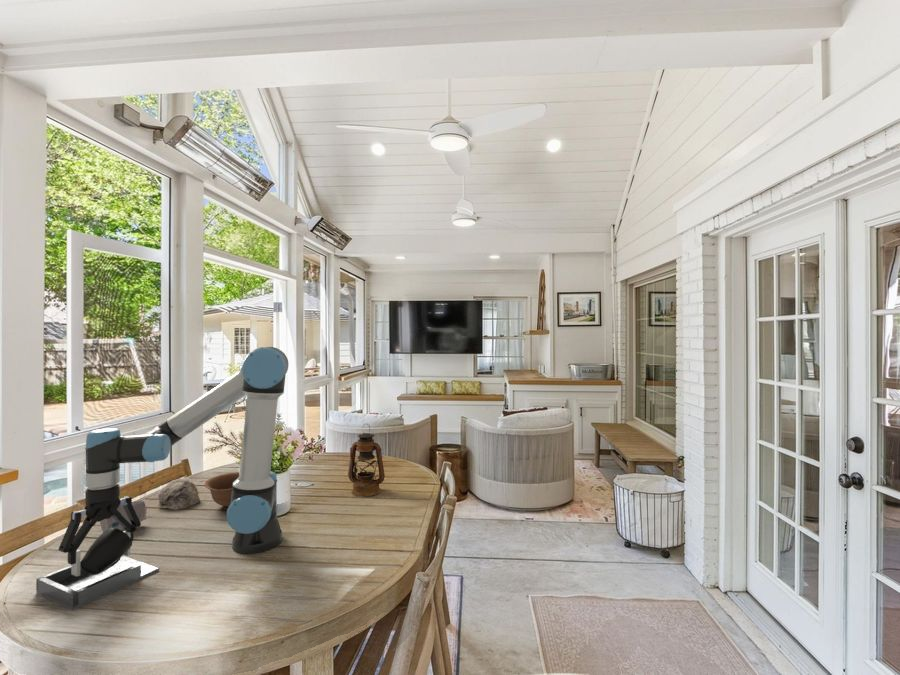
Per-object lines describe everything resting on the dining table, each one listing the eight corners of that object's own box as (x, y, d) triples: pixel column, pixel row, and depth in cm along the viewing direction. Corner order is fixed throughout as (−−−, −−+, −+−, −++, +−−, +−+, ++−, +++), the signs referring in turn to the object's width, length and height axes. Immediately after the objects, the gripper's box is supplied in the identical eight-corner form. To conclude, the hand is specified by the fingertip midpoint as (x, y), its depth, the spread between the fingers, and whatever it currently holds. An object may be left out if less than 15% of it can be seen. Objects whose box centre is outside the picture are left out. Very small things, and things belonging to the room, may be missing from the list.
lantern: (389, 488, 201) (389, 421, 201) (379, 498, 189) (379, 426, 189) (353, 485, 204) (353, 420, 204) (341, 495, 192) (341, 425, 192)
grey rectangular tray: (159, 571, 129) (159, 556, 129) (72, 611, 110) (72, 594, 110) (123, 559, 136) (123, 545, 136) (36, 594, 117) (36, 578, 117)
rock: (202, 498, 189) (202, 474, 189) (197, 508, 178) (197, 483, 178) (161, 502, 184) (161, 478, 184) (153, 513, 173) (153, 487, 173)
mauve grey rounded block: (101, 538, 152) (103, 537, 149) (97, 510, 154) (99, 508, 150) (147, 524, 162) (150, 522, 158) (143, 497, 164) (146, 495, 160)
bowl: (224, 521, 165) (224, 491, 165) (192, 509, 176) (192, 481, 176) (276, 502, 183) (276, 476, 183) (243, 492, 195) (243, 467, 195)
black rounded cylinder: (108, 590, 122) (135, 559, 130) (101, 562, 116) (130, 532, 125) (80, 581, 122) (109, 551, 131) (72, 553, 117) (103, 524, 125)
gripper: (139, 472, 136) (139, 543, 136) (41, 497, 115) (40, 582, 114) (155, 475, 133) (154, 548, 133) (57, 501, 111) (56, 589, 111)
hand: (102, 564), depth 124 cm, fingers closed on black rounded cylinder, 12 cm apart
